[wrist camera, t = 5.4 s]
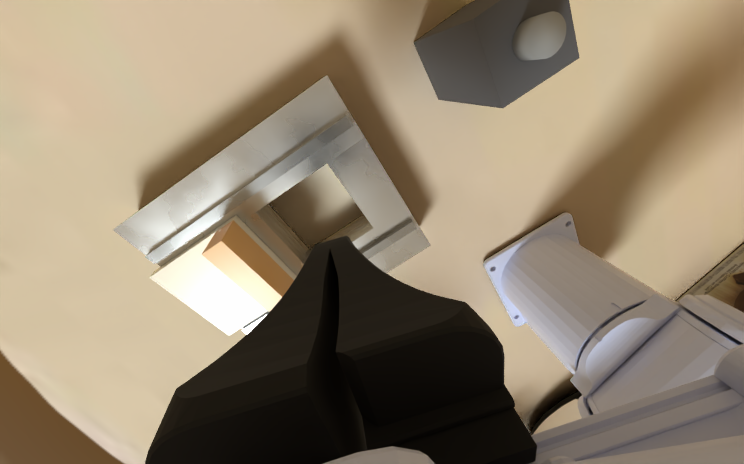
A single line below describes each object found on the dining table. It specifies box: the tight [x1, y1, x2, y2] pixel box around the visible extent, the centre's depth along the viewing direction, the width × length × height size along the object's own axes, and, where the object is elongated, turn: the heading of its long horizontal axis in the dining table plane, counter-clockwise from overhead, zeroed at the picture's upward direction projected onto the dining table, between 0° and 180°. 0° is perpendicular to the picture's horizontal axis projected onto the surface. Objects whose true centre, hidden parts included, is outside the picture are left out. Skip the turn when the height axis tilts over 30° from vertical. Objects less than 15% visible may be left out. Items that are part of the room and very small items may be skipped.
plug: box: [414, 0, 579, 108], centre depth 14 cm, size 4×4×8 cm
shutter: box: [149, 215, 297, 335], centre depth 17 cm, size 6×6×3 cm
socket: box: [113, 75, 431, 334], centre depth 19 cm, size 12×14×3 cm
